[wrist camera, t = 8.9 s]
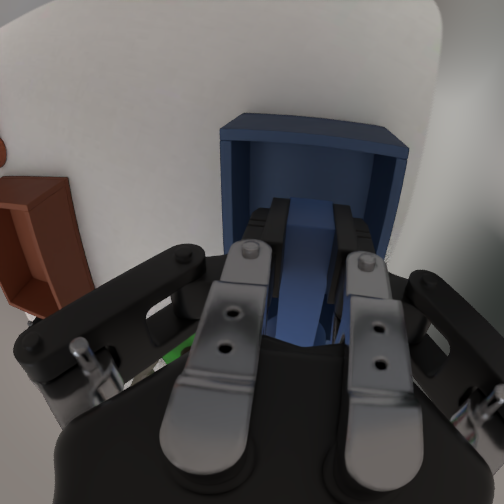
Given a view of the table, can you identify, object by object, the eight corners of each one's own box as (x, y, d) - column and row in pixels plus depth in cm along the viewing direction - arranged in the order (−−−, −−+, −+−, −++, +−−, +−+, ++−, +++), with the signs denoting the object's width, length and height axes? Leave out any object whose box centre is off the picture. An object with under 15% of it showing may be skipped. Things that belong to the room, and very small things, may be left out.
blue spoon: (267, 194, 13) (258, 221, 11) (354, 203, 12) (362, 232, 10) (261, 350, 18) (254, 382, 16) (319, 357, 18) (318, 390, 16)
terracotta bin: (3, 176, 25) (-33, 198, 20) (68, 177, 24) (26, 205, 19) (34, 277, 33) (9, 304, 28) (97, 296, 32) (72, 331, 27)
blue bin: (242, 112, 19) (219, 128, 14) (384, 126, 17) (409, 148, 13) (243, 285, 27) (228, 333, 22) (350, 297, 25) (354, 348, 21)
